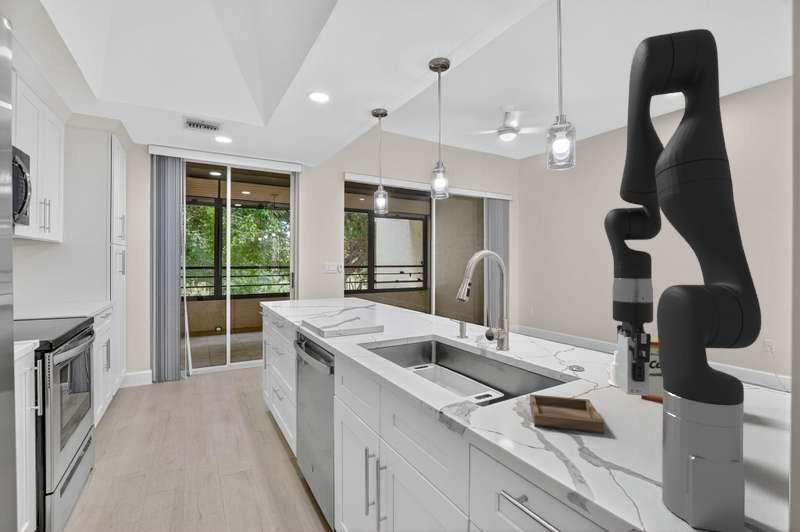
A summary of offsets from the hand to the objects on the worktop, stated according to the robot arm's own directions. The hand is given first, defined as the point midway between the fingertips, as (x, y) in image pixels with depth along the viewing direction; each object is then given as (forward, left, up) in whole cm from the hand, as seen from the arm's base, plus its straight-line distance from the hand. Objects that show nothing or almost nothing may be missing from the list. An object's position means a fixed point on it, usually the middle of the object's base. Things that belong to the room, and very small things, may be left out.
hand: (632, 376), depth 81 cm
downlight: (+35, -8, -12) cm, 38 cm away
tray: (+4, +13, -12) cm, 18 cm away
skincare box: (0, 0, -3) cm, 3 cm away
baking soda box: (+25, -15, -12) cm, 32 cm away
